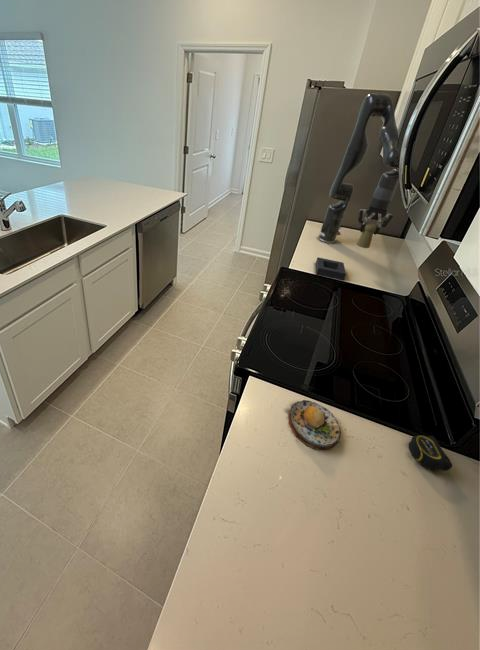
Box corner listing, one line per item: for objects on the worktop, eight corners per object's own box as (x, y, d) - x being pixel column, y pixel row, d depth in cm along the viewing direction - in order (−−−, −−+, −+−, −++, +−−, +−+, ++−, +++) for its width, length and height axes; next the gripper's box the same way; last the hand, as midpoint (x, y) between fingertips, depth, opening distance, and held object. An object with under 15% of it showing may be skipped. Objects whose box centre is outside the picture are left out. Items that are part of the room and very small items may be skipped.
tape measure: (448, 474, 67) (457, 465, 65) (417, 471, 67) (425, 462, 65) (428, 443, 73) (436, 434, 71) (400, 441, 73) (407, 431, 71)
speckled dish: (348, 448, 70) (360, 428, 66) (301, 453, 68) (310, 433, 64) (321, 402, 80) (330, 383, 77) (279, 406, 78) (286, 386, 74)
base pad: (315, 263, 152) (317, 257, 150) (341, 268, 149) (343, 262, 148) (316, 274, 142) (318, 267, 140) (343, 280, 139) (346, 273, 138)
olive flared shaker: (366, 243, 149) (375, 222, 144) (371, 248, 144) (381, 227, 139) (354, 241, 150) (362, 220, 144) (358, 247, 144) (367, 225, 139)
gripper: (398, 198, 137) (382, 233, 145) (363, 192, 140) (350, 227, 148) (402, 202, 130) (386, 239, 139) (366, 196, 134) (352, 232, 142)
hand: (367, 232), depth 144 cm, fingers closed on olive flared shaker, 5 cm apart
